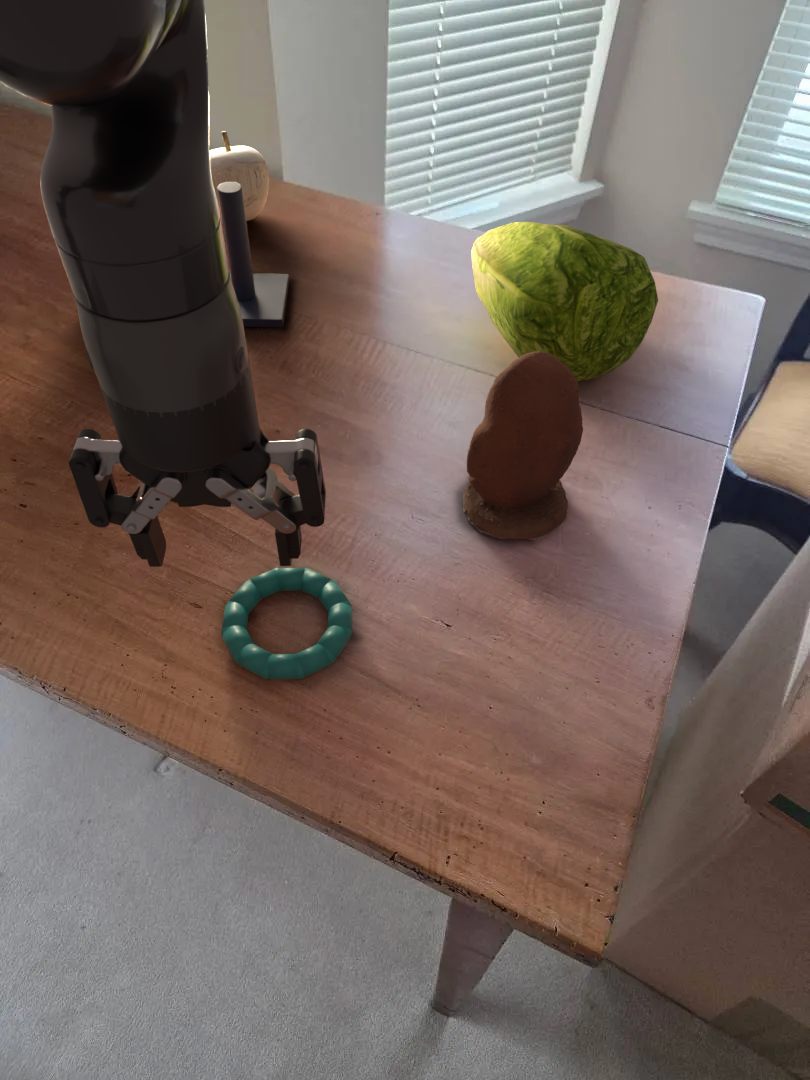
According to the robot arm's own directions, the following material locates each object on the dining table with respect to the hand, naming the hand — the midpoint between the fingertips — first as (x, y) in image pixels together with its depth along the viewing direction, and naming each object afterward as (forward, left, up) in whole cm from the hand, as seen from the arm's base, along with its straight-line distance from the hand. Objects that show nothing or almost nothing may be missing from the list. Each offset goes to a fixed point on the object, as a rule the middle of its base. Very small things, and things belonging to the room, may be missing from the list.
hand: (222, 556), depth 50 cm
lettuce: (+28, +38, -9) cm, 48 cm away
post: (-4, +43, -8) cm, 44 cm away
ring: (+4, 0, -8) cm, 8 cm away
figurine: (+23, +13, -9) cm, 27 cm away
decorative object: (-7, +62, -9) cm, 63 cm away
